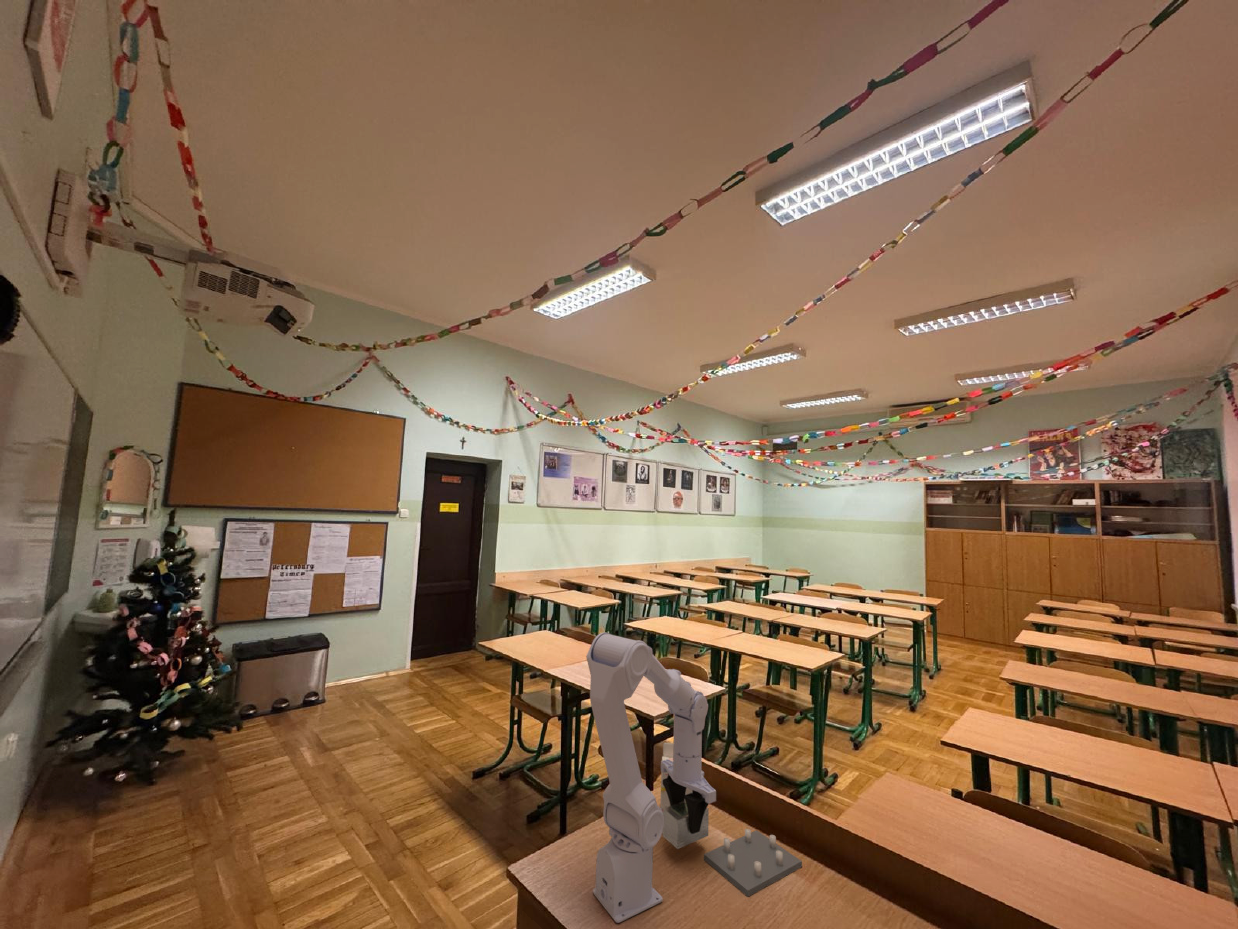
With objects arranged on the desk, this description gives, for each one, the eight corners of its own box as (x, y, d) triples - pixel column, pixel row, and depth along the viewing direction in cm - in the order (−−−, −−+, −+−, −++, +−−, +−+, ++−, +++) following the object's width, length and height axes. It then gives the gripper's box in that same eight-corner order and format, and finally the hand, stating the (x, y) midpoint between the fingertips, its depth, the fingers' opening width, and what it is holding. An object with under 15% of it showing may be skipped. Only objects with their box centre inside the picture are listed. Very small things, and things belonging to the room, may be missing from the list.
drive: (677, 849, 90) (677, 820, 91) (662, 836, 94) (663, 808, 95) (709, 835, 95) (709, 807, 96) (694, 823, 99) (694, 796, 99)
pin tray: (747, 897, 83) (747, 878, 83) (703, 859, 92) (704, 842, 93) (802, 867, 91) (801, 849, 91) (756, 835, 100) (756, 819, 101)
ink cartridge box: (659, 824, 103) (661, 751, 105) (660, 811, 108) (661, 741, 110) (699, 828, 102) (700, 754, 104) (698, 815, 107) (699, 744, 109)
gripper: (727, 761, 93) (727, 838, 91) (679, 734, 105) (677, 801, 103) (700, 770, 89) (699, 850, 87) (653, 740, 101) (651, 810, 99)
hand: (686, 825), depth 95 cm, fingers closed on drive, 4 cm apart
